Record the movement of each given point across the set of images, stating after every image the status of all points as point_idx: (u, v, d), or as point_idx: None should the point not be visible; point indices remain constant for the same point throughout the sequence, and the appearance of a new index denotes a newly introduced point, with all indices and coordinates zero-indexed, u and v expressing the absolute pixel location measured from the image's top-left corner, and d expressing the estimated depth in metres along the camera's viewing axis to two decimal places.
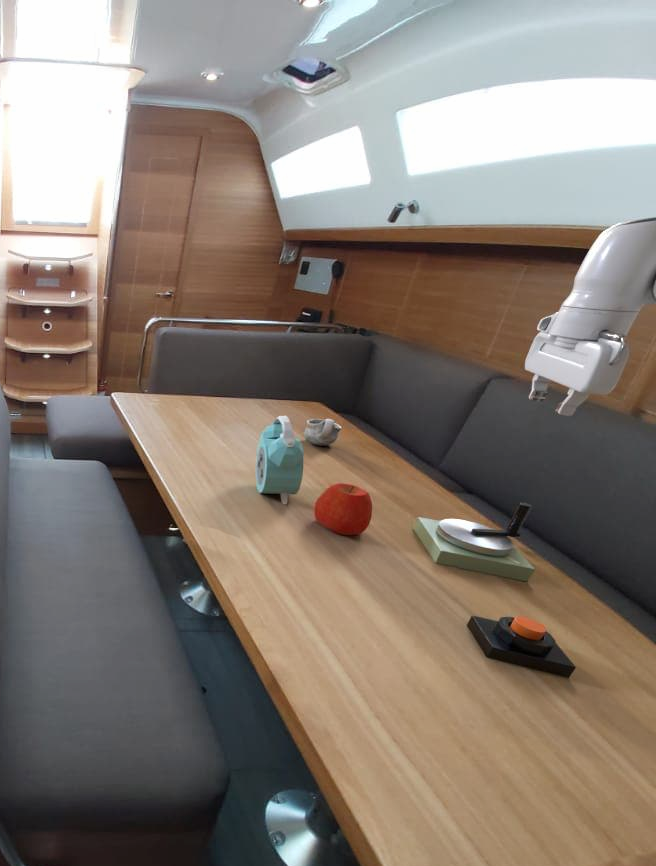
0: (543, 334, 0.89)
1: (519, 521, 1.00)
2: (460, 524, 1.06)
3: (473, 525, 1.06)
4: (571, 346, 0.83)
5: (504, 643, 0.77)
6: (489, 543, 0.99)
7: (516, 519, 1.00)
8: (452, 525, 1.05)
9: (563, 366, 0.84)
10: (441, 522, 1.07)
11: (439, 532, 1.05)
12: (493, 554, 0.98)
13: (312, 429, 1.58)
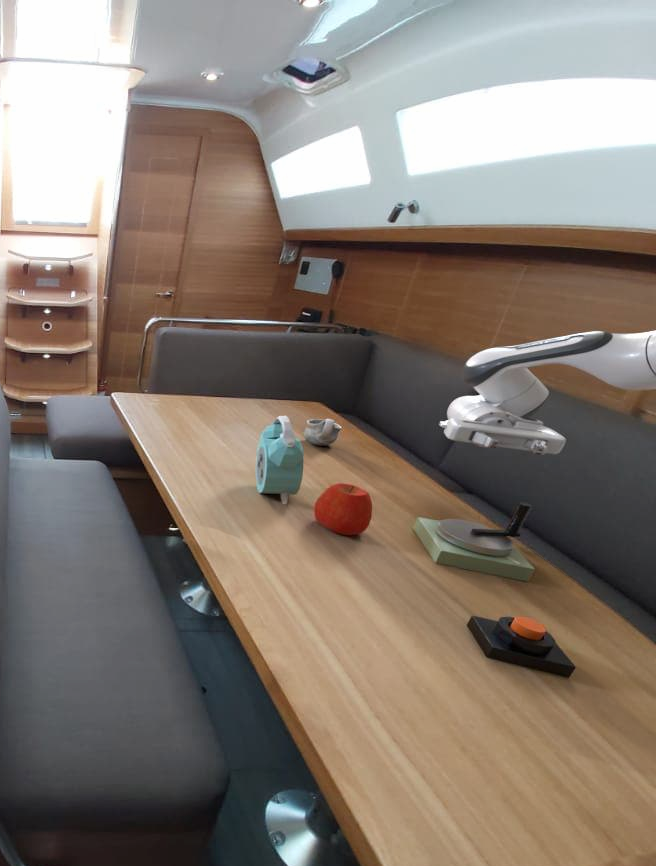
0: None
1: (519, 521, 1.00)
2: (460, 524, 1.06)
3: (473, 525, 1.06)
4: None
5: (504, 643, 0.77)
6: (489, 543, 0.99)
7: (516, 519, 1.00)
8: (452, 525, 1.05)
9: None
10: (441, 522, 1.07)
11: (439, 532, 1.05)
12: (493, 554, 0.98)
13: (312, 429, 1.58)
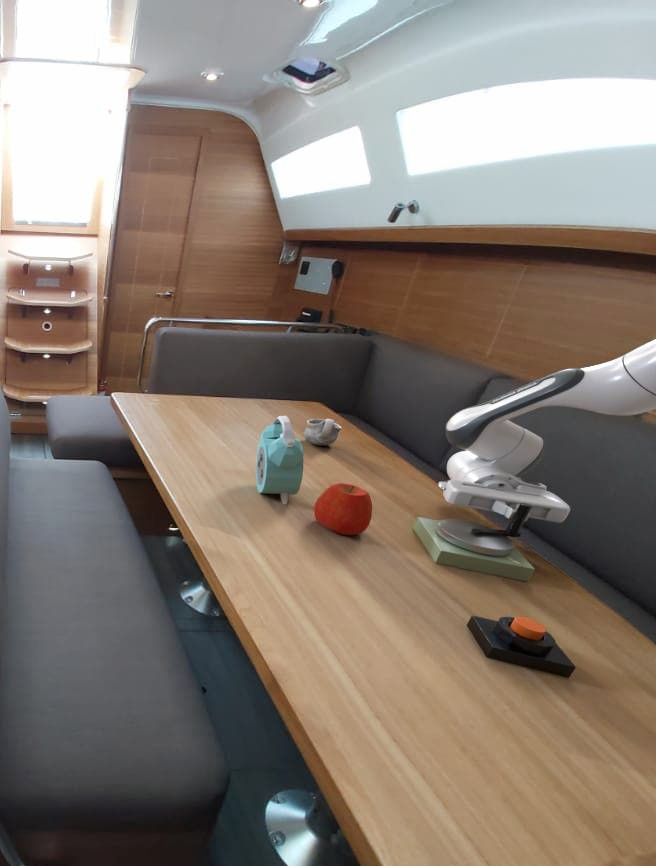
0: None
1: (519, 522, 1.00)
2: (460, 524, 1.06)
3: (474, 525, 1.06)
4: None
5: (504, 643, 0.77)
6: (488, 543, 0.99)
7: (517, 519, 1.00)
8: (452, 525, 1.05)
9: None
10: (441, 521, 1.07)
11: (439, 532, 1.05)
12: (493, 554, 0.98)
13: (312, 429, 1.58)
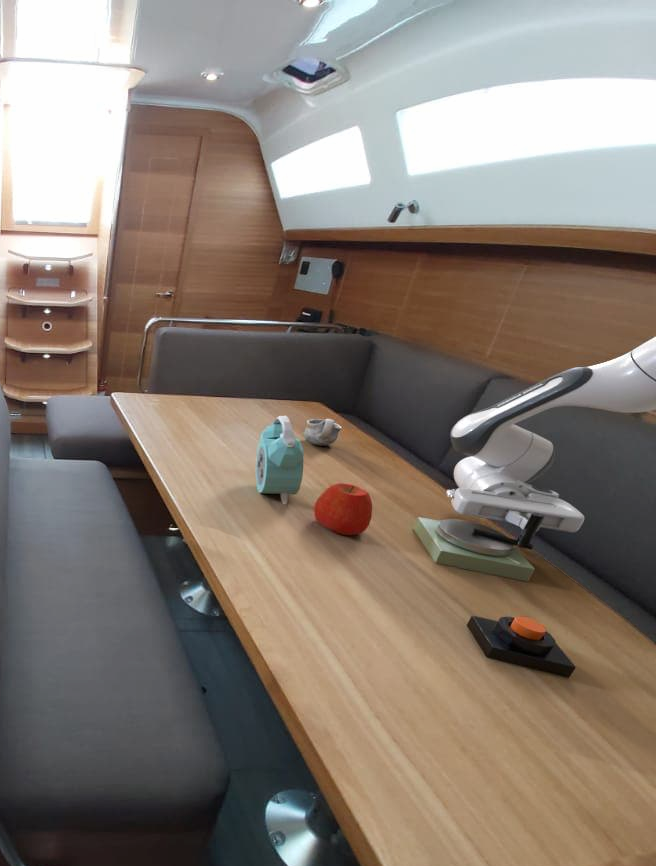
0: None
1: (527, 531, 0.97)
2: (473, 526, 1.05)
3: (490, 531, 1.04)
4: None
5: (504, 643, 0.77)
6: (474, 540, 1.00)
7: (525, 528, 0.97)
8: (460, 523, 1.06)
9: None
10: (451, 519, 1.08)
11: (438, 525, 1.07)
12: (469, 549, 0.99)
13: (312, 429, 1.58)
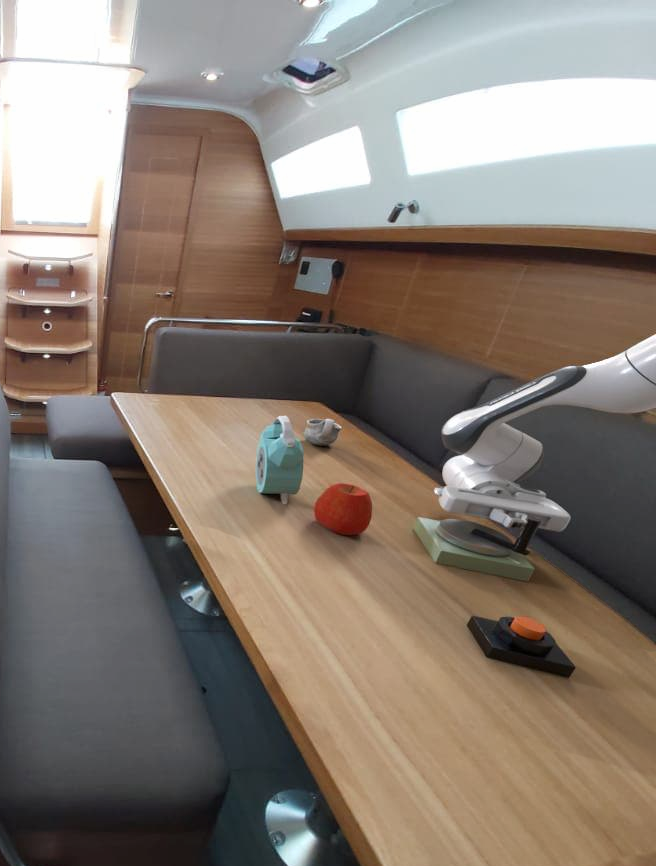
0: None
1: (521, 535, 0.95)
2: (484, 529, 1.04)
3: (499, 536, 1.02)
4: None
5: (504, 643, 0.77)
6: (463, 536, 1.01)
7: None
8: (469, 525, 1.06)
9: None
10: None
11: None
12: (452, 542, 1.01)
13: (312, 429, 1.58)
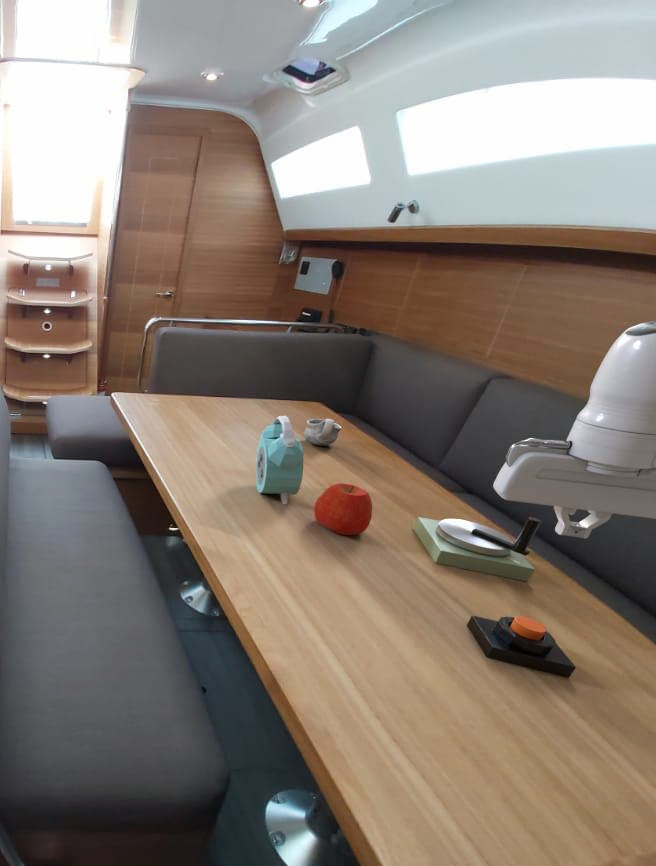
0: None
1: (521, 535, 0.95)
2: (484, 529, 1.04)
3: (499, 536, 1.02)
4: None
5: (504, 643, 0.77)
6: (463, 536, 1.01)
7: None
8: (469, 525, 1.06)
9: None
10: None
11: None
12: (452, 542, 1.01)
13: (312, 429, 1.58)
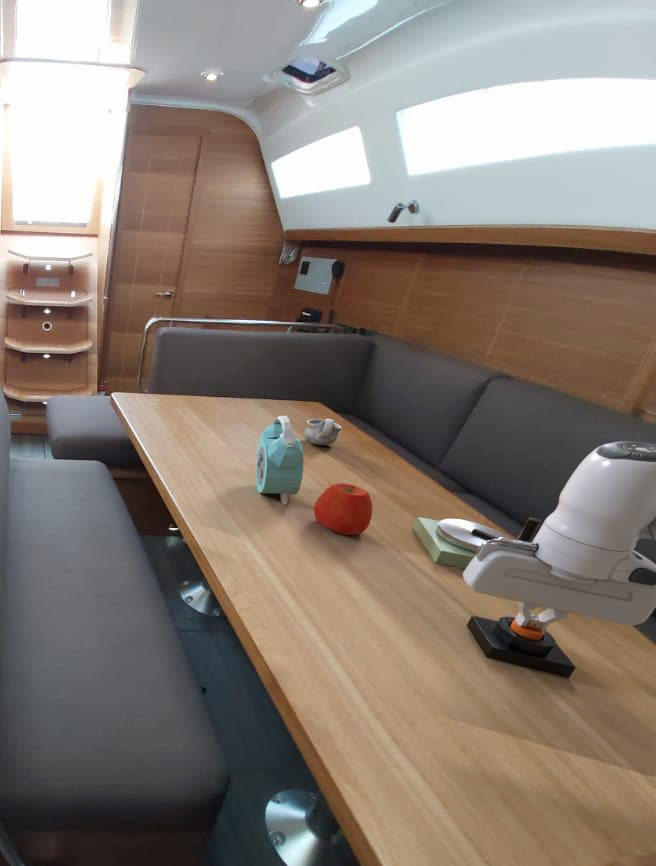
0: None
1: (521, 535, 0.95)
2: (484, 529, 1.04)
3: (499, 536, 1.02)
4: None
5: (504, 643, 0.77)
6: (463, 536, 1.01)
7: None
8: (469, 525, 1.06)
9: None
10: None
11: None
12: (452, 542, 1.01)
13: (312, 429, 1.58)
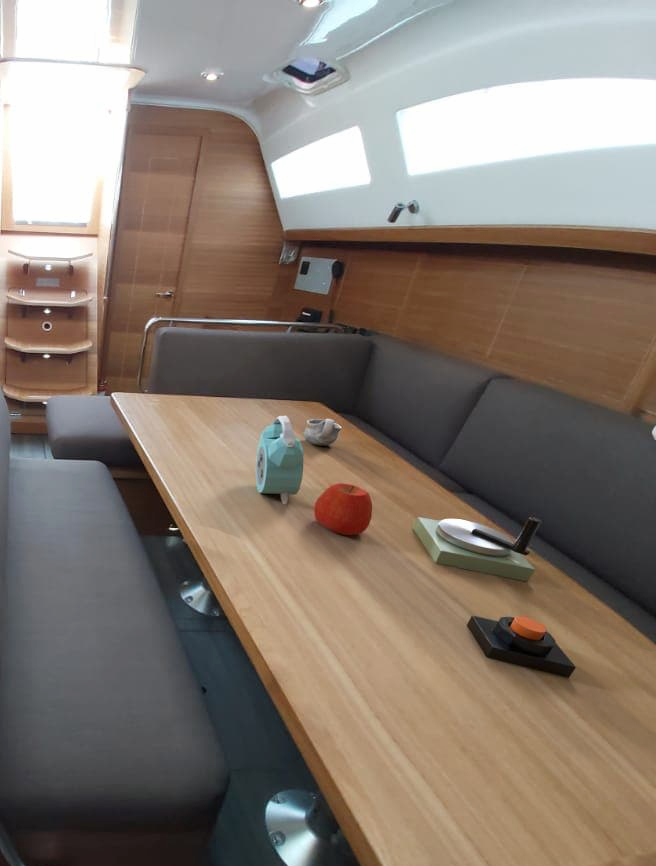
0: None
1: (521, 535, 0.95)
2: (484, 529, 1.04)
3: (499, 536, 1.02)
4: None
5: (504, 643, 0.77)
6: (463, 536, 1.01)
7: None
8: (469, 525, 1.06)
9: None
10: None
11: None
12: (452, 542, 1.01)
13: (312, 429, 1.58)
